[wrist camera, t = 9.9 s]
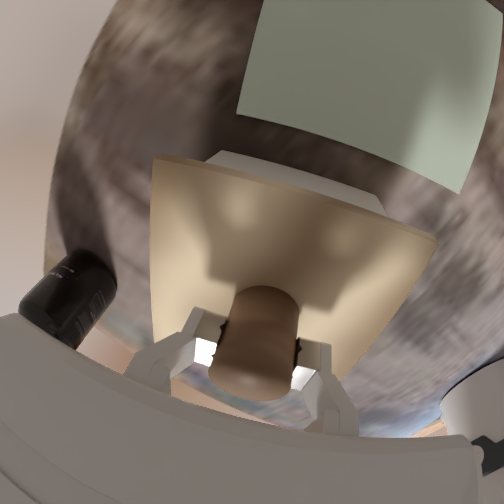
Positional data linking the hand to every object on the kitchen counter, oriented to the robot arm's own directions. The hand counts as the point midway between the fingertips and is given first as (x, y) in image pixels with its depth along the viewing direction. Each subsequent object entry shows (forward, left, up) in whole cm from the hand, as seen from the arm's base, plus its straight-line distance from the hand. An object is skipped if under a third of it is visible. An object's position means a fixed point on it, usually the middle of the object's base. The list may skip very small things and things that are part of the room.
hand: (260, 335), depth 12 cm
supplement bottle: (+17, +10, -9) cm, 22 cm away
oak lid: (0, 0, -2) cm, 2 cm away
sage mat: (-3, -15, -8) cm, 17 cm away
